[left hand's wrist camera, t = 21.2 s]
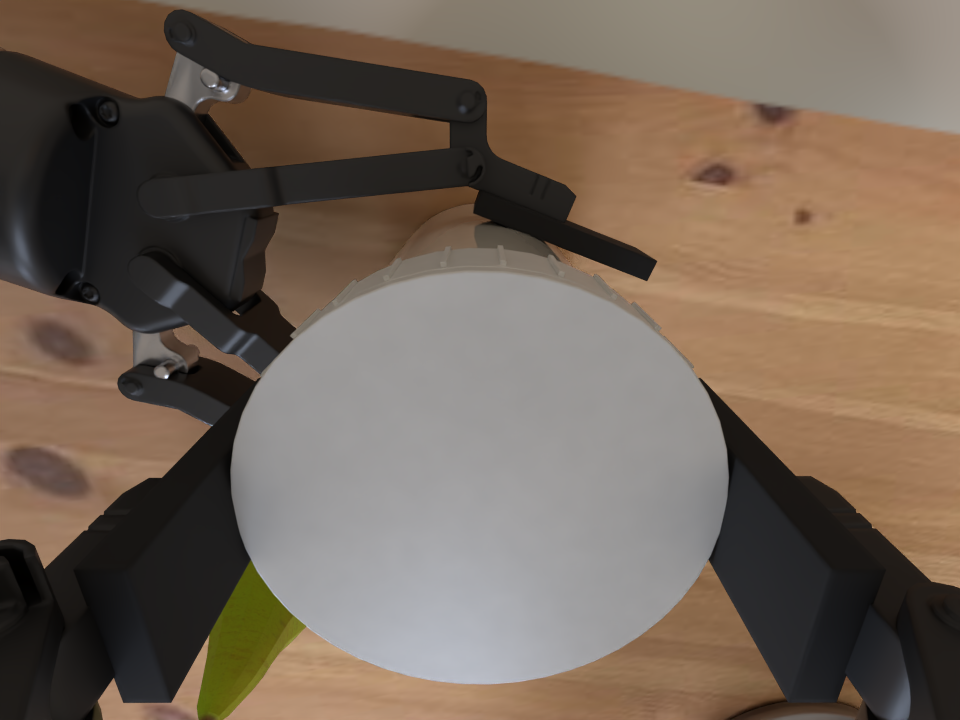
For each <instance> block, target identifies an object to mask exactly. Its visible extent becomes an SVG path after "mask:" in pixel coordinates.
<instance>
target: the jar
mask: <svg viewBox="0 0 960 720" xmlns="http://www.w3.org/2000/svg"><path fill="white" fill-rule="evenodd" d="M473 209H474V204H465V205H461V206H457V207H453V208H450V209H448V210H445V211H443V212H441V213H439V214H437V215H435V216H433V217H432V218H430V219H429V220H428V221H426V222H425V223H424V224H422V225H421V226H420V227H419V228H418V229H417V230H416V231H415V232H414V233H413V235H412V236H411V237H410V238H409V240H408V241H407V242H406V243H405V245H404V246H403V247H402V248H401V250H400V251H399V252H398V253H397V255H396V256H395V257H394V258H393V260H392V261H391V262H390V263H389V265H388V266H391V265H392V264H393V262H394V261H395V260H396V259H398V258H401V260H402V261H403V260H406V259H409V258H413V257H417V256H421V255H425V254H429V253H433V252H438V251H444V250H445V248H446V247H448V246H451V250H455V249H464V248H493V249H497V247H498V245H502V246H503V248H504V249H506V250H512V251H519V252H526V253H532V254H535V255H539V256H542V257H545V258H548V255H552V256H554V257H555V259H556V260H557V261H559V262H562V263H564V264H567V265H569V266H571V267H573V266H572V265H571V264H570V262H569V261H568V260H567V259H566V257H565V256H564V255H563V254H562V252H561V251H560V250H559V249H558V247H557V246H556V245H553V244H550V243H548V242H545V241H543V240H540V239H538V238H535V237H532V236H530V235H528V234H525V233H522V232H520V231H517V230H514V229H512V228H509V227H507V226H504V225H502V224H499V223H497V222H494V221H491V220H489V219H486V218H484V217H481V216H479V215H476V214H473ZM388 266H387V267H388ZM573 268H574V267H573Z"/></svg>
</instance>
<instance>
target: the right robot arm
mask: <svg viewBox="0 0 960 720" xmlns="http://www.w3.org/2000/svg"><path fill="white" fill-rule="evenodd" d="M164 33H165V36H166V40H167V41H168V43H169V44H170V46H171V47H172V48H173V49H174V50H175V51H176V52H177V53H176V57H175V61H174V64H173V68H172V72H171V75H170V79H169V82H168V86H167V90H166V93H165V96H154V97H149V98H142V99H140V98H136V97H134V96H131V95H128V94H126V93H123V92H121V91H118V90H116V89H113V88H110V87H108V86H105V85H103V84H100V83H97V82H95V81H92V80H90V79H87V78H84V77H82V76H79V75H77V74H74V73H71V72H69V71H66V70H64V69H61V68H59V67H56V66H53V65H51V64H48V63H46V62H43V61H40V60H38V59H35V58H33V57H30V56H27V55H24V54H20V53H17V52H10V51H6V50H4V49H3V48H1V47H0V279H1V280H4V281H7V282H10V283H13V284H16V285H19V286H22V287H25V288H28V289H31V290H34V291H37V292H40V293H44V294H47V295H50V296H53V297H57V298H61V299H66V300H71V301H77V302H82V303H87V304H91V305H95V306H98V307H100V308H102V309H104V310H105V311H107V312H109V313H110V314H111V315H113V316H114V317H115V318H116V319H118V320H119V321H120V322H121V323H122V324H123V325H124V326H126V327H127V328H129V329H131V330H133V368H131V369H130V370H128V371H126V372H125V373H123V374H122V375H121V376H120V377H119V378H118V383H117V384H118V388H119V390H120V391H121V393H122V394H123V395H124V396H126V397H127V398H129V399H131V400H134V401H139V402H144V403H149V404H154V405H159V406H164V407H169V408H174V409H179V410H181V411H183V412H184V413H186V414H188V415H190V416H192V417H194V418H196V419H198V420H200V421H202V422H204V423H206V424H208V425H210V426H213V425H214V424H215V423H216V422H217V421H218V420H219V419H220V418H221V417H222V416H223V415H224V413H225V412H226V411H227V410H228V409H229V408H230V407H231V406H232V405H233V404H234V403H235V402H236V401H237V400H238V399H239V398H240V397H241V396H242V395H243V394H244V393H245V392H246V391H247V390H248V389H249V388H250V387H251V386H252V385H253V384H254V383H255V381H253V380H251V379H249V378H248V377H246V376H244V375H242V374H240V373H238V372H236V371H235V370H233V369H231V368H229V367H227V366H225V365H223V364H221V363H218V362H216V361H213V360H210V359H207V358H203V357H199V354H200V351H199V349H198V347H196V346H195V345H186V344H184V343H182V342H181V341H179V340H178V339H177V338H176V337H175V335H174V333H173V329H175V328H179V327H182V326H186V325H190V326H191V327H192V328H193V329H195V330H196V331H197V332H198V333H199V334H201V335H202V336H203V337H204V338H205V339H207V340H208V341H209V342H210V343H211V344H213V345H214V346H215V347H216V348H217V349H219V350H220V351H222V352H224V353H227V354H235V355H237V356H239V357H240V358H241V359H243V360H244V361H245V362H246V363H247V364H249V365H250V366H251V367H252V368H253V369H255V370H256V371H257V372H258V373H259V374H260V375H261V373H262V372H263V371H264V370H265V369H266V368H267V367H268V366H269V365H270V364H271V362H272V361H273V360H274V359H275V358H276V357H277V356H278V355H279V354H280V353H281V352H282V351H283V350H284V349H285V348H286V347H287V346H288V344H289V343H290V342H291V341H292V340H293V338H292V337H291V336H290V335H291V334H292V333H293V332H294V331H295V330H296V328H295V327H293V326H292V325H291V324H290V323H289V322H288V321H287V320H286V319H284V318H283V317H282V316H281V314H280V312H279V308H278V306H277V305H276V304H275V302H274V301H273V300H271V299H270V298H269V297H268V296H267V295H266V294H265V293H264V292H263V291H261V290H260V289H262V286H263V282H264V277H265V273H266V264H265V249H266V247H267V245H268V243H269V242H270V240H271V238H272V236H273V234H274V233H275V228H276V224H277V220H278V215H279V213H276V212H274V209H273V207H274V206H281V205H287V204H297V203H306V202H316V201H326V200H336V199H345V198H355V197H365V196H375V195H384V194H394V193H404V192H414V191H423V190H433V189H443V188H453V187H462V186H469V187H472V188H474V189H477V190H479V193H478V195H477V198H476V201H475V204H474V209H473V214H476V215H479V216H481V217H484V218H486V219H489V220H491V221H494V222H497V223H499V224H502V225H504V226H507V227H509V228H512V229H514V230H517V231H520V232H522V233H525V234H528V235H530V236H532V237H535V238H538V239H540V240H543V241H545V242H548V243H550V244H553V245H556V246H558V247H561V248H563V249H566V250H568V251H571V252H574V253H576V254H579V255H581V256H584V257H586V258H589V259H591V260H594V261H597V262H599V263H602V264H604V265H607V266H609V267H612V268H615V269H617V270H620V271H622V272H625V273H627V274H630V275H633V276H635V277H638V278H640V279H643V280H645V281H647V280H648V278H649V277H650V275H651V273H652V271H653V269H654V267H655V265H656V263H657V261H656V260H655V259H653V258H651V257H650V256H648V255H647V254H645V253H643V252H642V251H640V250H639V249H637V248H635V247H633V246H630V245H628V244H625V243H623V242H620V241H618V240H615V239H613V238H610V237H608V236H605V235H603V234H600V233H598V232H595V231H593V230H590V229H588V228H585V227H582V226H580V225H577V224H575V223H572V222H570V221H567V220H566V219H567V217H568V215H569V212H570V210H571V208H572V205H573V203H574V201H575V198H576V195H575V194H574V193H573V192H572V191H571V190H570V189H569V188H568V187H567V186H566V185H564V184H562V183H559V182H557V181H554V180H552V179H549V178H547V177H544V176H542V175H540V174H537V173H535V172H532V171H530V170H527V169H525V168H522V167H520V166H517V165H515V164H513V163H510V162H508V161H505V160H503V159H501V158H499V157H497V156H496V155H495V154H494V153H493V152H492V151H491V149H490V147H489V145H488V142H487V135H486V129H487V96H486V94H485V91H484V89H483V88H482V87H481V86H480V85H479V83H477V82H475V81H472V80H469V79H463V78H456V77H450V76H444V75H438V74H432V73H426V72H419V71H413V70H407V69H401V68H395V67H389V66H383V65H376V64H370V63H364V62H358V61H352V60H346V59H339V58H333V57H327V56H321V55H315V54H309V53H302V52H296V51H290V50H284V49H278V48H272V47H266V46H259V45H253V44H251V43H249V42H248V41H246V40H244V39H242V38H241V37H239V36H237V35H235V34H234V33H232V32H230V31H228V30H226V29H224V28H222V27H220V26H218V25H216V24H214V23H212V22H210V21H208V20H205V19H203V18H201V17H199V16H197V15H195V14H193V13H191V12H188V11H185V10H174V11H173V12H171V13H170V14H169V15H168V16H167V18H166V20H165V23H164ZM251 88H253V89H257V90H260V91H264V92H268V93H271V94H275V95H280V96H284V97H289V98H295V99H301V100H308V101H314V102H321V103H327V104H333V105H340V106H346V107H352V108H359V109H365V110H371V111H378V112H384V113H390V114H397V115H403V116H409V117H416V118H422V119H428V120H435V121H441V122H447V123H450V148H448V149H438V150H429V151H419V152H410V153H400V154H391V155H381V156H372V157H362V158H353V159H343V160H334V161H324V162H315V163H305V164H296V165H286V166H277V167H266V168H256V169H251V168H250V167H249V166H248V164H247V163H246V162H245V160H244V159H243V158H242V156H241V155H240V154H239V153H238V151H237V150H236V149H235V147H234V146H233V145H232V144H231V142H230V141H229V140H228V138H227V137H226V136H225V134H224V133H223V132H222V131H221V129H220V128H219V127H218V125H217V124H216V123H215V121H214V120H213V119H212V118H211V116H210V115H209V114H208V111H209V109H210V107H211V106H212V105H213V104H215V103H217V102H221V101H223V102H228V103H233V104H238V103H242V102H244V101H245V100H246V99H247V98H248V96H249V94H250V91H251ZM234 310H235V311H237V312H238V313H239V314H240V315H236V314H234V313H232V312H233V311H234Z"/></svg>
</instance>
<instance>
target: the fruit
mask: <svg viewBox="0 0 960 720" xmlns="http://www.w3.org/2000/svg"><path fill="white" fill-rule="evenodd" d="M305 627H306V625H305V624H303V623H302V622H301V621H300V620H299V619H298V618H296V617H295V616H294V615H293V614H292V613H291V612H290V611H289V610H288V609H287V608H286V607H285V606H284V605H283V604H282V603H281V602H280V600H279V599H278V598H277V597H276V596H275V595H274V594H273V593H272V591H271V590H270V589H269V587H268V586H267V584H266V583H265V582H264V580H263V579H262V577H261V576H260V575H259V573H258V572H257V570H256V568H255V566H254V564H253V562H252V560H251V561H250V562H249V564H248V566H247V568H246V569H245V571H244V573H243V575H242V577H241V578H240V580H239V582H238V584H237V586H236V587H235V589H234V591H233V593H232V595H231V596H230V598H229V600H228V602H227V603H226V605H225V607H224V609H223V611H222V612H221V614H220V616H219V618H218V620H217V621H216V623H215V625H214V627H213V629H212V630H211V632H210V635H209V645H208V653H207V660H206V665H205V670H204V675H203V680H202V685H201V690H200V695H199V699H198V704H197V712H198V719H199V720H223V719H224V718H226V717H227V716H229V715H230V714H231V713H232V711H233V710H234V709H235V708H236V707H237V706H238V705H239V704H240V703H241V702H242V701H243V700H244V699H245V698H246V696H247V695H248V694H249V693H250V692H251V691H252V690H253V689H254V688H255V686H256V685H257V684H258V683H259V681H260V680H261V679H262V678H263V676H264V675H265V673H266V672H267V670H268V668H269V667H270V665H271V664H272V662H273V661H274V660H275V658H276V657H277V656H278V654H279V653H280V652H281V651H282V650H283V649H284V648H285V647H287V646H288V645H289V644H290V643H291V642H292V641H293V640H294V639H295V638H296V637H297V636H298V635H299V634H300V632H301V631H302V630H303V629H304V628H305Z"/></svg>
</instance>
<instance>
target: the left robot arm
mask: <svg viewBox="0 0 960 720" xmlns="http://www.w3.org/2000/svg"><path fill="white" fill-rule="evenodd" d="M260 379H261V378H258V379H257V381H256V382H255V383H254V384H253V385H252V386H251V387H250V388H249V389H248V390H247V391H246V392H245V393H244V394H243V395H242V396H241V397H240V398H239V399H238V400H237V401H236V402H235V403H234V404H233V405H232V406H231V407H230V408H229V409H228V410H227V411H226V412H225V413H224V415H223V416H222V417H221V418H220V419H219V420H218V421H217V422H216V423H215V424H214V425H213V426H212V427H211V428H210V429H209V430H208V431H207V432H206V433H205V434H204V435H203V436H202V437H201V438H200V439H199V440H198V441H197V442H196V443H195V444H194V445H193V446H192V448H191V449H190V450H189V451H188V452H187V453H186V454H185V455H184V456H183V457H182V458H181V459H180V460H179V461H178V462H177V463H176V464H175V465H174V466H173V467H172V468H171V469H170V470H169V471H168V472H167V473H166V474H165V475H164V476H163V477H162V478H148V479H147V480H145V481H143V482H141V483H140V484H138V485H136V486H135V487H133V488H131V489H130V490H128V491H126V492H125V493H123V494H122V495H121V496H120V497H119V498H118V499H117V500H116V501H115V502H114V503H112V504H111V505H110V506H109V507H108V508H107V509H106V510H105V511H104V515H100V516H99V517H98V518H97V519H96V520H95V521H94V522H93V523H92V524H91V525H90V526H89V527H88V530H87V531H83V532H82V533H81V534H80V535H79V536H78V537H77V538H76V539H75V540H74V541H73V542H72V543H71V544H70V545H69V546H68V547H67V548H66V549H65V550H64V551H63V552H62V553H60V554H59V555H58V556H57V557H56V558H55V559H54V560H53V561H52V562H51V563H50V564H49V565H48V566H47V567H46V568H45V569H44V568H43V565H42V563H41V560H40V558H39V555H38V553H37V550H36V548H35V546H34V545H33V544H31V543H29V542H28V541H26V540H16V539H6V540H1V541H0V720H103V719H102V713H101V708H100V706H99V704H98V699H99V698H100V697H101V695H102V694H103V692H104V691H105V689H106V688H107V686H108V685H109V684H110V682H111V681H112V679H113V678H114V679H115V682H116V684H117V687H118V690H119V692H120V695H121V698H122V700H123V703H171V702H172V700H173V698H174V697H175V695H176V693H177V691H178V689H179V688H180V686H181V684H182V682H183V680H184V679H185V677H186V675H187V673H188V672H189V670H190V668H191V666H192V664H193V663H194V661H195V659H196V657H197V655H198V654H199V652H200V650H201V648H202V646H203V645H204V643H205V641H206V639H207V638H208V636H209V634H210V632H211V630H212V629H213V627H214V625H215V623H216V621H217V620H218V618H219V616H220V614H221V612H222V611H223V609H224V607H225V605H226V603H227V602H228V600H229V598H230V596H231V595H232V593H233V591H234V589H235V587H236V586H237V584H238V582H239V580H240V578H241V577H242V575H243V573H244V571H245V569H246V568H247V566H248V564H249V562H250V561H251V558H250V556H249V555H248V553H247V551H246V549H245V546H244V543H243V541H242V538H241V535H240V532H239V528H238V524H237V519H236V514H235V509H234V505H233V500H232V495H231V474H230V468H231V460H232V452H233V445H234V439H235V436H236V432H237V429H238V426H239V422H240V419H241V416H242V413H243V411H244V409H245V406H246V404H247V402H248V400H249V398H250V396H251V394H252V392H253V390H254V388H255V386H256V384H257V383H258V382H259V380H260ZM698 379H699V380H700V382H701V383H702V385H703V386H704V388H705V390H706V391H707V393H708V395H709V397H710V399H711V402H712V404H713V406H714V409H715V411H716V413H717V416H718V418H719V420H720V424H721V428H722V432H723V436H724V440H725V444H726V448H727V458H728V470H729V484H728V497H727V502H726V507H725V512H724V516H723V521H722V525H721V530H720V534H719V536H718V539H717V541H716V544H715V546H714V549H713V551H712V554H711V556H710V558H709V561H710V563H711V565H712V567H713V568H714V570H715V572H716V574H717V576H718V577H719V579H720V581H721V583H722V585H723V586H724V588H725V590H726V592H727V593H728V595H729V597H730V599H731V601H732V602H733V604H734V606H735V608H736V610H737V611H738V613H739V615H740V617H741V619H742V620H743V622H744V624H745V626H746V627H747V629H748V631H749V633H750V635H751V636H752V638H753V640H754V642H755V644H756V645H757V647H758V649H759V651H760V653H761V654H762V656H763V658H764V660H765V662H766V663H767V665H768V667H769V669H770V670H771V672H772V674H773V676H774V678H775V679H776V681H777V683H778V685H779V687H780V688H781V690H782V692H783V694H784V696H785V697H786V699H787V701H788V702H781V703H776V704H771V705H767V706H764V707H760V708H757V709H754V710H751V711H749V712H746V713H744V714H741V715H739V716H737V717H735V718H733V719H731V720H960V588H957V587H955V586H951V585H946V584H941V583H936V582H931V581H930V580H929V579H928V578H927V577H926V576H925V575H924V574H923V573H922V572H921V571H920V570H919V569H918V568H917V567H915V566H914V565H913V564H912V563H911V562H910V561H909V560H908V559H907V558H906V557H905V556H904V555H903V554H902V553H901V552H900V551H899V550H898V549H897V548H896V547H895V546H894V545H892V544H891V543H890V542H889V541H888V540H887V539H886V538H885V537H884V536H883V535H882V534H881V533H880V532H879V531H878V530H877V529H873V528H872V524H870V523H869V522H868V521H867V520H866V519H865V518H864V517H863V516H862V515H861V514H860V513H856V509H855V508H854V507H853V506H852V505H851V504H850V503H849V502H847V501H846V500H845V499H844V498H843V497H842V496H841V495H840V494H839V493H838V492H837V491H835V490H834V489H832V488H830V487H828V486H827V485H825V484H823V483H822V482H820V481H818V480H816V479H815V478H813V477H811V476H795V475H794V474H793V473H792V472H791V471H790V470H789V469H788V468H787V467H786V466H785V464H784V463H783V462H782V461H781V460H780V459H779V458H778V457H777V456H776V455H775V454H774V453H773V452H772V451H771V450H770V449H769V448H768V447H767V446H766V445H765V444H764V443H763V442H762V441H761V440H760V439H759V438H758V437H757V436H756V435H755V434H754V433H753V431H752V430H751V429H750V428H749V427H748V426H747V425H746V424H745V423H744V422H743V421H742V420H741V419H740V418H739V417H738V416H737V415H736V414H735V413H734V412H733V411H732V410H731V409H730V408H729V407H728V406H727V405H726V404H725V403H724V402H723V401H722V400H721V398H720V397H719V396H718V395H717V394H716V393H715V392H714V391H713V390H712V389H711V388H710V387H709V386H708V385H707V384H706V383H705V382H704V381H703V380H702V379H701V378H698ZM846 676H847V677H848V678H849V680H850V681H851V683H852V684H853V686H854V687H855V688H856V690H857V691H858V693H859V694H860V696H861V697H862V698H863V701H862V704H861V706H860V708H859V710H858V709H856V708H853V707H850V706H848V705H844V704H840V703H836V702H837V699H838V696H839V694H840V691H841V688H842V686H843V683H844V680H845V678H846Z"/></svg>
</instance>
